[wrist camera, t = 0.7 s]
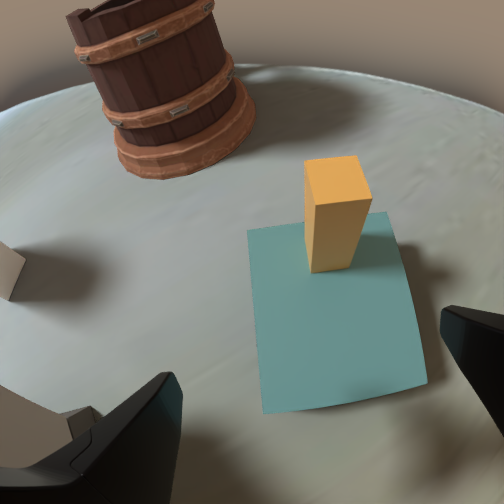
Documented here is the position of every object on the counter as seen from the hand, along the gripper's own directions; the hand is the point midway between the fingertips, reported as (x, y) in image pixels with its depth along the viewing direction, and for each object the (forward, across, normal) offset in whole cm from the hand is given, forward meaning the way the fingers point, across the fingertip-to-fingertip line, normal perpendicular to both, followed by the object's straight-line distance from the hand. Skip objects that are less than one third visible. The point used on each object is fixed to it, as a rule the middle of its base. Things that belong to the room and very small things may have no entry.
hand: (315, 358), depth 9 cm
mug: (+32, +7, -15) cm, 36 cm away
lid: (+10, -3, +4) cm, 11 cm away
